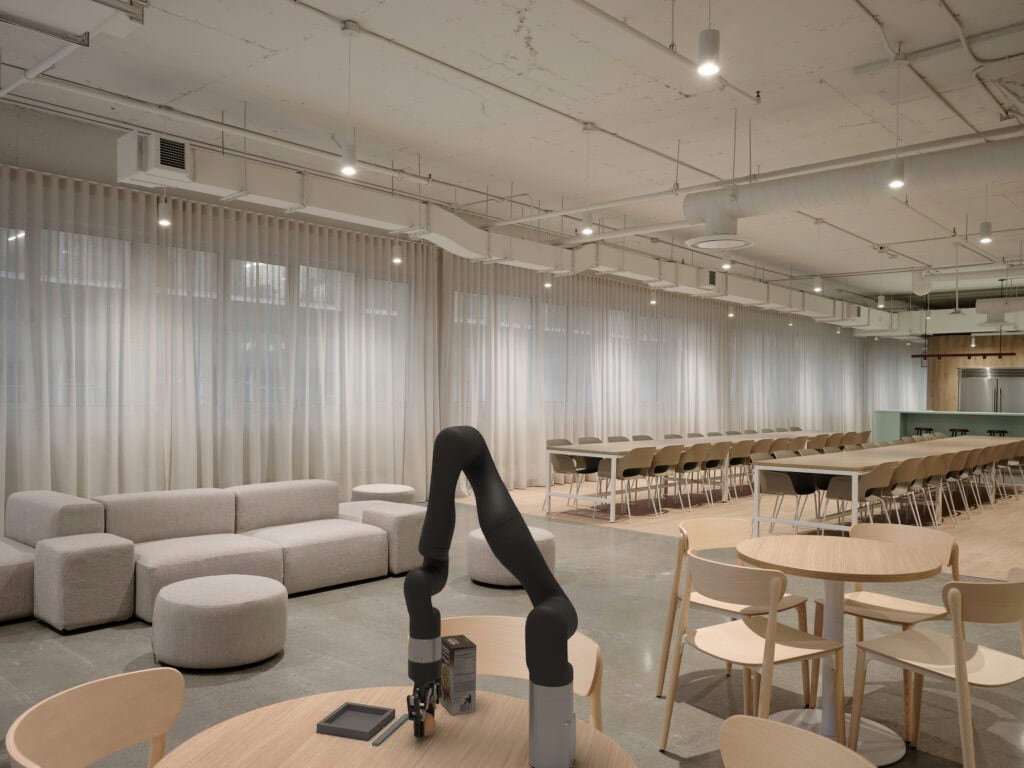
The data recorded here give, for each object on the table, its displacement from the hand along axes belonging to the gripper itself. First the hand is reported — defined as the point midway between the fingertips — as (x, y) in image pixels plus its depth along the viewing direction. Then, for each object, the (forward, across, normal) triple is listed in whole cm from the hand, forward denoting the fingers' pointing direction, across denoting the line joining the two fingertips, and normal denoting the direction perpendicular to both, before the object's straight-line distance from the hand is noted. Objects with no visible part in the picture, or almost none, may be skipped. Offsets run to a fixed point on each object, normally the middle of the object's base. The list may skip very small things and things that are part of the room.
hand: (424, 731), depth 172 cm
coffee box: (+1, +17, -1) cm, 17 cm away
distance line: (+1, 0, +8) cm, 8 cm away
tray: (+1, 0, +17) cm, 17 cm away
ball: (-2, 0, 0) cm, 2 cm away
